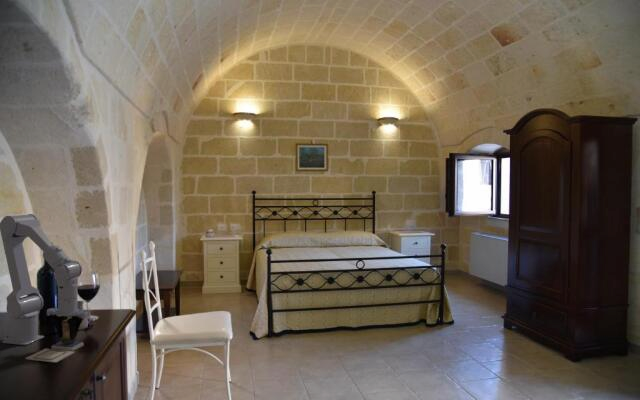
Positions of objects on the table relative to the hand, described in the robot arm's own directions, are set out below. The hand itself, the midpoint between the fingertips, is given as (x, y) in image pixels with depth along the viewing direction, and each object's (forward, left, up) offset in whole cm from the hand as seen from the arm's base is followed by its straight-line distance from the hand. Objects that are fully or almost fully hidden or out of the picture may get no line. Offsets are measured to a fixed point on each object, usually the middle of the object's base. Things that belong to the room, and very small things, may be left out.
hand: (67, 337), depth 147 cm
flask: (-10, +17, -4) cm, 20 cm away
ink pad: (0, 0, -3) cm, 3 cm away
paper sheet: (0, -8, -3) cm, 8 cm away
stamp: (0, 0, -1) cm, 1 cm away
